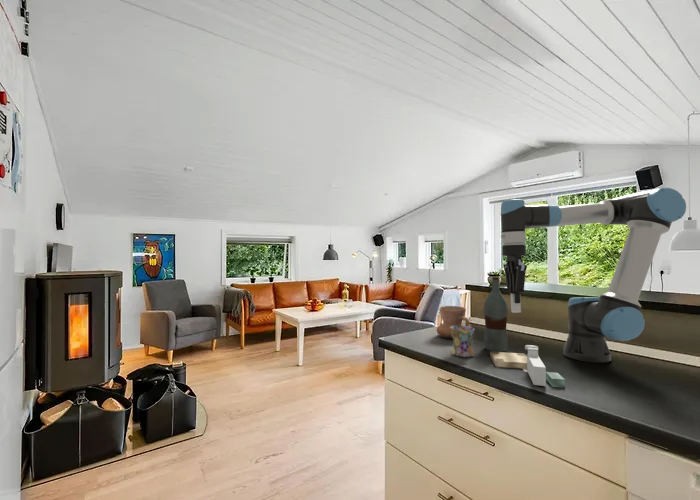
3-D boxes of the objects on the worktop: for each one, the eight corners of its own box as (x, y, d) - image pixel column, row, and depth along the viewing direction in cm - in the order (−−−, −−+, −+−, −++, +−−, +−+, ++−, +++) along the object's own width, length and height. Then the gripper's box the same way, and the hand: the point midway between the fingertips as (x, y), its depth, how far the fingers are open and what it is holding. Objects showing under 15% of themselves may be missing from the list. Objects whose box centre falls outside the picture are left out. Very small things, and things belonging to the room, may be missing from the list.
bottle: (479, 348, 146) (479, 277, 147) (491, 345, 152) (490, 276, 152) (501, 353, 139) (500, 278, 139) (512, 349, 145) (512, 277, 145)
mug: (480, 357, 134) (480, 329, 134) (459, 359, 131) (459, 331, 131) (461, 349, 145) (461, 323, 146) (441, 351, 143) (441, 325, 143)
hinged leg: (524, 367, 121) (524, 344, 121) (537, 368, 120) (537, 345, 120) (532, 384, 105) (532, 358, 105) (547, 386, 104) (547, 359, 104)
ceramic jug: (428, 335, 170) (428, 306, 170) (450, 331, 177) (450, 303, 177) (455, 344, 155) (456, 312, 154) (479, 340, 162) (479, 309, 161)
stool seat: (537, 359, 131) (537, 341, 131) (564, 387, 104) (564, 364, 104) (490, 356, 135) (490, 338, 135) (505, 382, 108) (505, 360, 108)
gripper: (495, 245, 128) (497, 309, 128) (511, 244, 115) (513, 315, 115) (516, 244, 128) (518, 308, 128) (534, 243, 115) (536, 315, 115)
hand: (516, 312), depth 121 cm, fingers closed
